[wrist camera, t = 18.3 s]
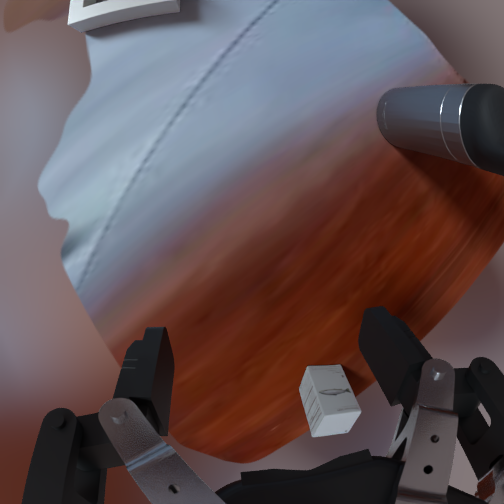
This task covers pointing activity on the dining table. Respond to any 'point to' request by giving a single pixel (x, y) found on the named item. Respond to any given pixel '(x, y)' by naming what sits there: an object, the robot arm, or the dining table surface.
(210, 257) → the dining table surface
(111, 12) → the well holder
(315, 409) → the supplement box
